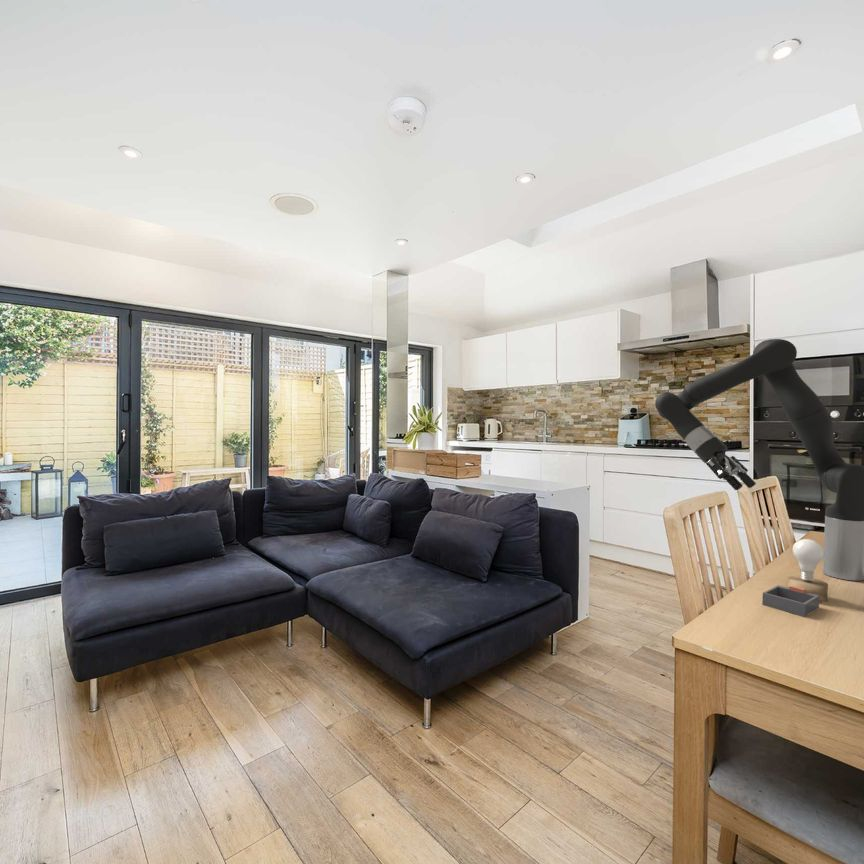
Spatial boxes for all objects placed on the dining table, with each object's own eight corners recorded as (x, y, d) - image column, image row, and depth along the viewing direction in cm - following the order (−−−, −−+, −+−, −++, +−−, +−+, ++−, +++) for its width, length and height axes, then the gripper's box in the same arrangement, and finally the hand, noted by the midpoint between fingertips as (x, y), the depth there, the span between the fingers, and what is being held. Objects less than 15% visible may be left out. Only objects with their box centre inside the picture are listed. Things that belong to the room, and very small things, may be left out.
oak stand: (794, 588, 129) (795, 574, 128) (831, 598, 122) (832, 582, 122) (783, 594, 124) (783, 579, 124) (821, 604, 117) (821, 589, 117)
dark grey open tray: (777, 596, 123) (778, 582, 122) (818, 607, 116) (819, 592, 115) (762, 604, 117) (762, 589, 117) (804, 617, 110) (805, 600, 110)
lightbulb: (828, 586, 119) (830, 543, 119) (800, 584, 120) (801, 541, 120) (813, 578, 125) (814, 536, 125) (786, 576, 126) (787, 535, 126)
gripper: (703, 436, 136) (746, 480, 127) (726, 435, 144) (768, 477, 135) (684, 453, 141) (724, 497, 132) (707, 451, 149) (746, 493, 140)
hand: (746, 487), depth 133 cm, fingers open, 8 cm apart
